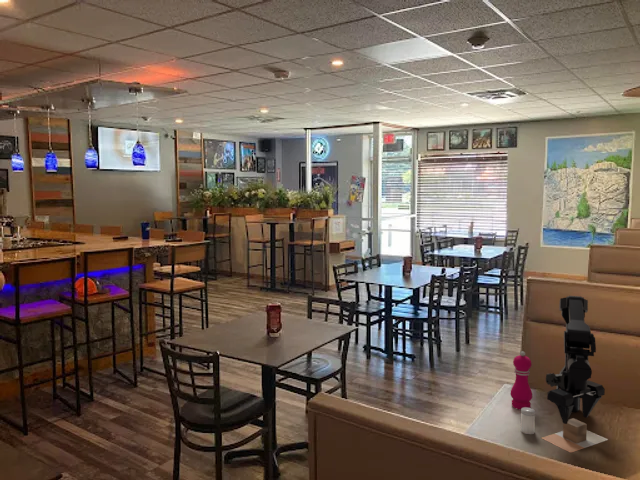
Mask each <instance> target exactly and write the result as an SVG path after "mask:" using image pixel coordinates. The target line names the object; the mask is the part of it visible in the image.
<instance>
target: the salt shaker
mask: <svg viewBox="0 0 640 480" xmlns="http://www.w3.org/2000/svg"><path fill="white" fill-rule="evenodd" d="M535 423H536V410H535V409H534V408H527V407H524V408H521V410H520V432H521V433H523V434H526V435H534V434H535V430H536V429H535V427H536V426H535V425H536V424H535Z"/></svg>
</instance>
